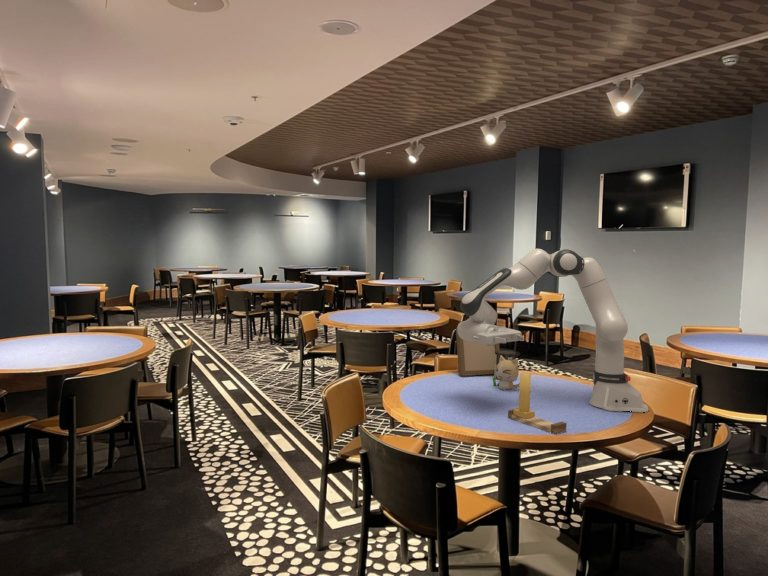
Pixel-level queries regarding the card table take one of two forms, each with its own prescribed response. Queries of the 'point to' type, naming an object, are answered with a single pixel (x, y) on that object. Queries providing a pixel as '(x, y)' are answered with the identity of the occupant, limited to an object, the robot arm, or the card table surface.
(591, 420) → the card table surface
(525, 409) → the keeper
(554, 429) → the rail
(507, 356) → the coffee can
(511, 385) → the kitten
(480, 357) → the photo frame
